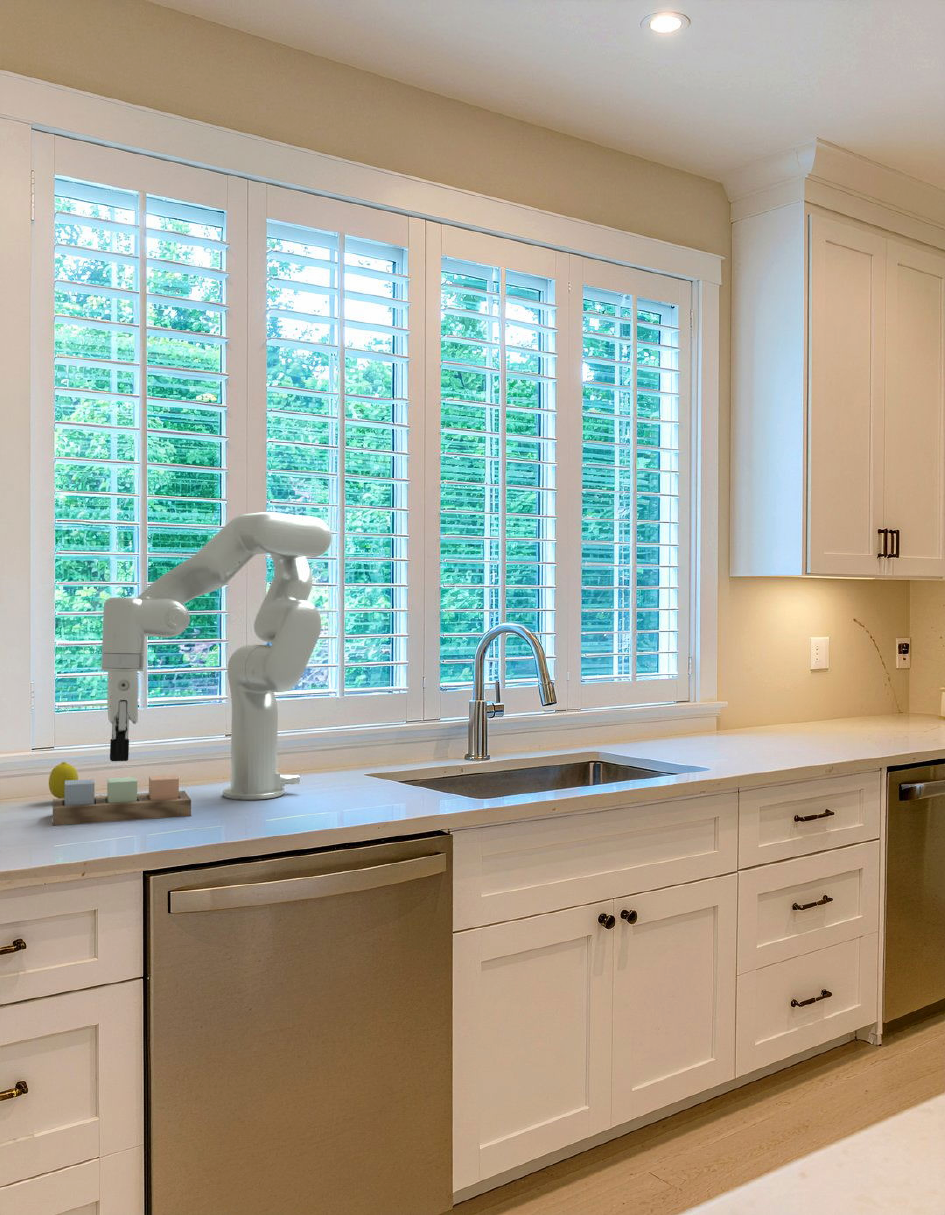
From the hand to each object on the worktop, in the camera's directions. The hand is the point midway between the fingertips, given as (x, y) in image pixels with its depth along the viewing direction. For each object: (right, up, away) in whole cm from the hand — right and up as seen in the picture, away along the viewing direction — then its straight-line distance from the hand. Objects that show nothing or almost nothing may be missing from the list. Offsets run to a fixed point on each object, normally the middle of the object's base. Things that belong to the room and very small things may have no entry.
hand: (119, 760), depth 185 cm
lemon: (-16, -11, +13) cm, 23 cm away
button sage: (0, -9, 0) cm, 9 cm away
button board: (0, -10, 0) cm, 10 cm away
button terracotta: (+7, -9, +3) cm, 12 cm away
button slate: (-7, -9, -3) cm, 11 cm away
